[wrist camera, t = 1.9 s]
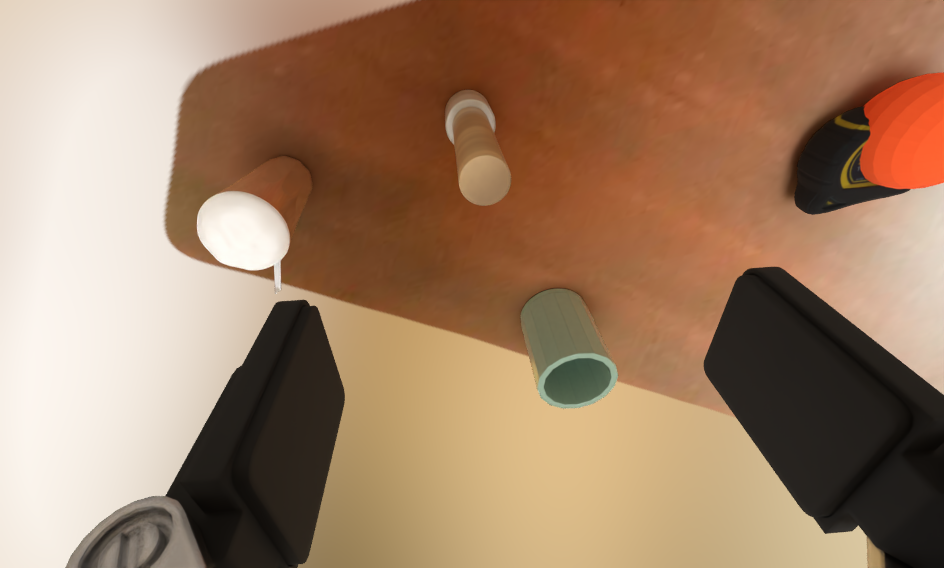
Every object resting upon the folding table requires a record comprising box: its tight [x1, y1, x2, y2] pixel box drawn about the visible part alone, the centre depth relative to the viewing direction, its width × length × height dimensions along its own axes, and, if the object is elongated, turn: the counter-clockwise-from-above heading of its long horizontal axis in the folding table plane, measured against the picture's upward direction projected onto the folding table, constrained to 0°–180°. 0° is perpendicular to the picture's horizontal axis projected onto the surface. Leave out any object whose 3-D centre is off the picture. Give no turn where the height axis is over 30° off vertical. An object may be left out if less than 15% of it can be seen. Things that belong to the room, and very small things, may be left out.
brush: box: [445, 90, 511, 206], centre depth 22 cm, size 3×3×12 cm
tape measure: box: [794, 106, 910, 215], centre depth 29 cm, size 7×7×4 cm
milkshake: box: [197, 155, 313, 294], centre depth 25 cm, size 5×5×10 cm
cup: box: [520, 288, 618, 408], centre depth 34 cm, size 6×6×8 cm
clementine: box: [860, 73, 944, 189], centre depth 26 cm, size 8×7×7 cm
